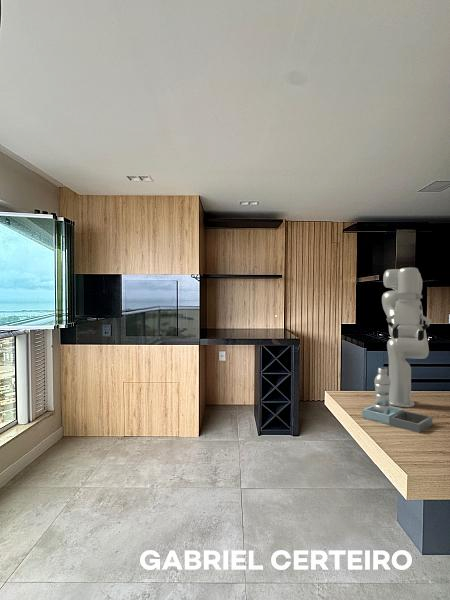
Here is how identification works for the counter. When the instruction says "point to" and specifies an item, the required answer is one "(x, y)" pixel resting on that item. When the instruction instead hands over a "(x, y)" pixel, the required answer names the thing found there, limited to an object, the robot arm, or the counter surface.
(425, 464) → the counter surface
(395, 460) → the counter surface
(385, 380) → the plastic bottle
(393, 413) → the bin
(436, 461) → the counter surface
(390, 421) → the bin
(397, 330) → the robot arm
